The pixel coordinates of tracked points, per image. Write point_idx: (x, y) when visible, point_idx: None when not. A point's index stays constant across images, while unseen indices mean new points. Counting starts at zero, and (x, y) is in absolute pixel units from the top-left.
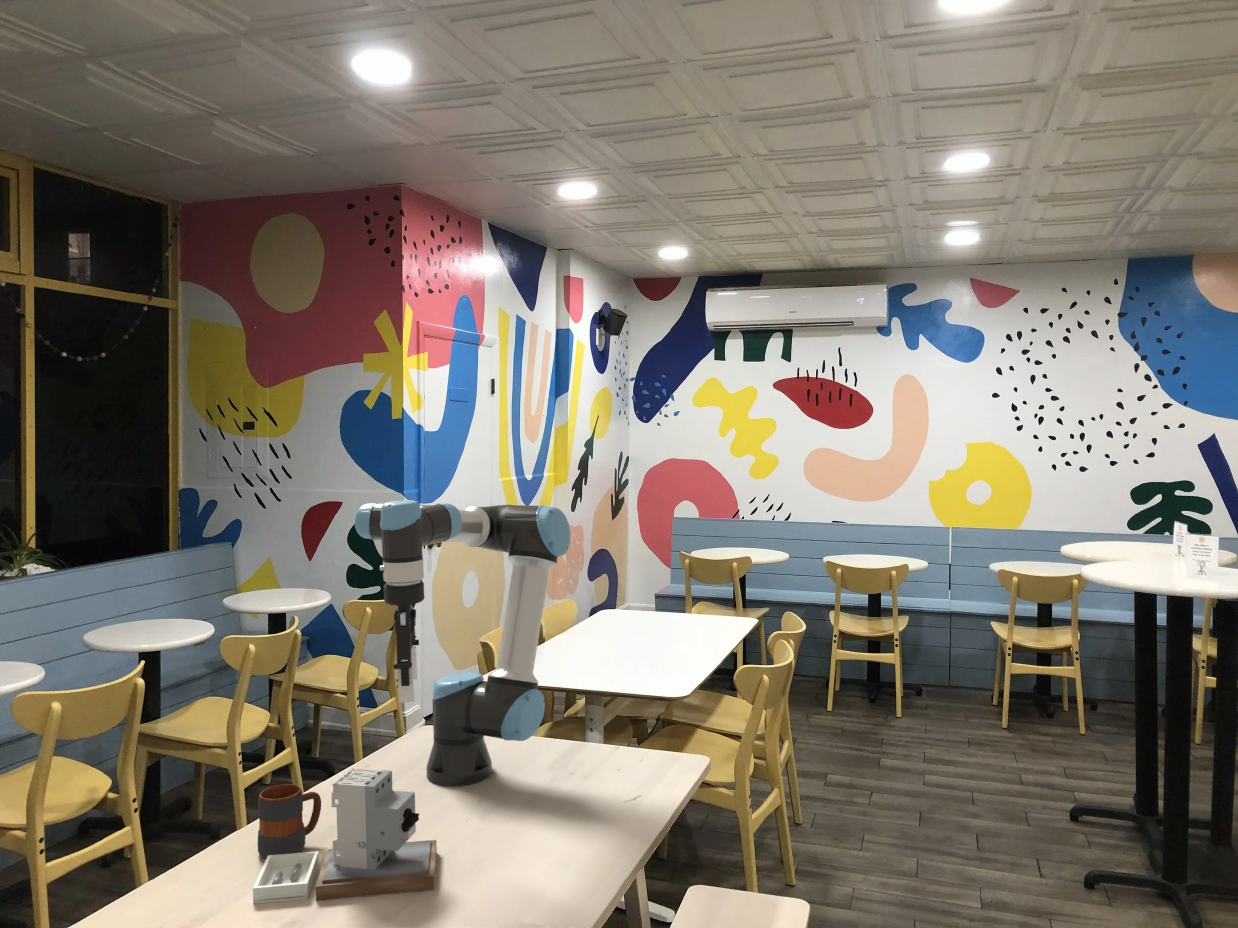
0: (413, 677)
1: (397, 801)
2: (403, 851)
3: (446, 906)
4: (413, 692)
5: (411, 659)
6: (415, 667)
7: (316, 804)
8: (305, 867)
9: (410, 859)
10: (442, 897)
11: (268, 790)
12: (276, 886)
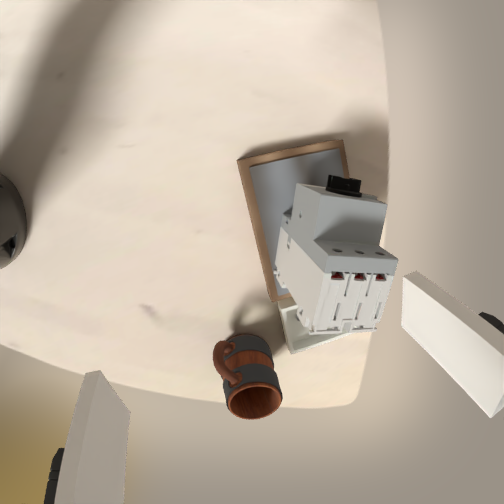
0: (106, 387)
1: (359, 214)
2: (286, 197)
3: (368, 118)
4: (439, 288)
5: (98, 466)
6: (92, 417)
7: (223, 357)
8: (290, 310)
9: (309, 180)
10: (351, 126)
11: (244, 415)
12: None
